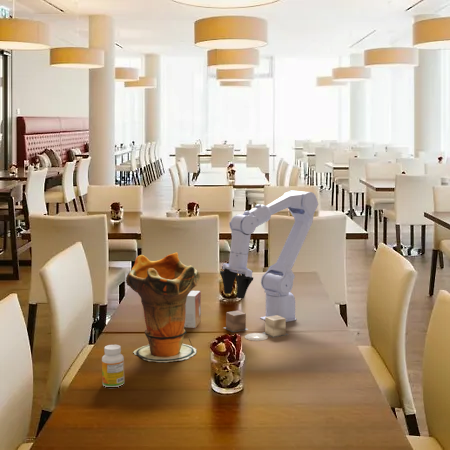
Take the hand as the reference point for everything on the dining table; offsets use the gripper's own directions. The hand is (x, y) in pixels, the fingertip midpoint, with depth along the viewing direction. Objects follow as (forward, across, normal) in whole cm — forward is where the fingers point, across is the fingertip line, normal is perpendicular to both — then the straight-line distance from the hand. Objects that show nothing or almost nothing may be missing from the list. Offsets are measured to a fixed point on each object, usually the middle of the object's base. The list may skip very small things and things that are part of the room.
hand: (233, 295), depth 218 cm
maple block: (+9, +11, +10) cm, 17 cm away
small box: (+12, -12, -8) cm, 19 cm away
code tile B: (+10, +11, +10) cm, 17 cm away
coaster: (+11, +11, +3) cm, 16 cm away
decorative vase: (+15, +9, -26) cm, 32 cm away
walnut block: (+10, 0, +2) cm, 11 cm away
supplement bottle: (+19, +25, -48) cm, 57 cm away
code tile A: (+11, 0, +2) cm, 11 cm away
